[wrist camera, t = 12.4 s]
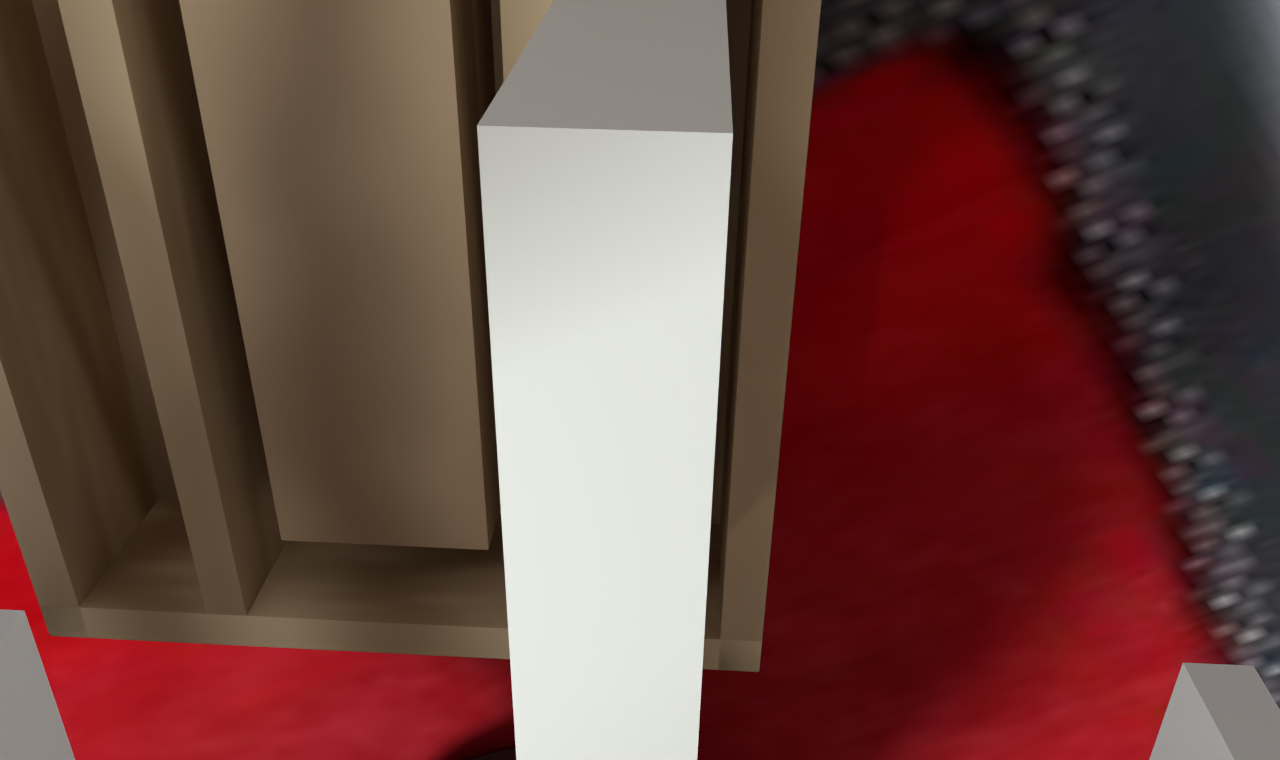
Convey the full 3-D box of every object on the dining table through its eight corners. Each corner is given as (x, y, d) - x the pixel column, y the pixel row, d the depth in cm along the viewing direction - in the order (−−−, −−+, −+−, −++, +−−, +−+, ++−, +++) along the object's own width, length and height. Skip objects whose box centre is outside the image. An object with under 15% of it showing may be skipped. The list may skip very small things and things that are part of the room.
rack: (815, -275, 22) (847, -281, 17) (751, 522, 32) (759, 672, 27) (-46, -288, 23) (-269, -298, 18) (154, 495, 33) (49, 635, 28)
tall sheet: (720, -108, 22) (732, 133, 9) (693, 462, 29) (677, 1101, 16) (621, -110, 22) (476, 125, 9) (619, 459, 29) (537, 1092, 16)
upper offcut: (465, -99, 21) (443, -85, 19) (502, 499, 28) (488, 549, 26) (207, -105, 21) (162, -91, 19) (307, 491, 28) (281, 540, 26)
